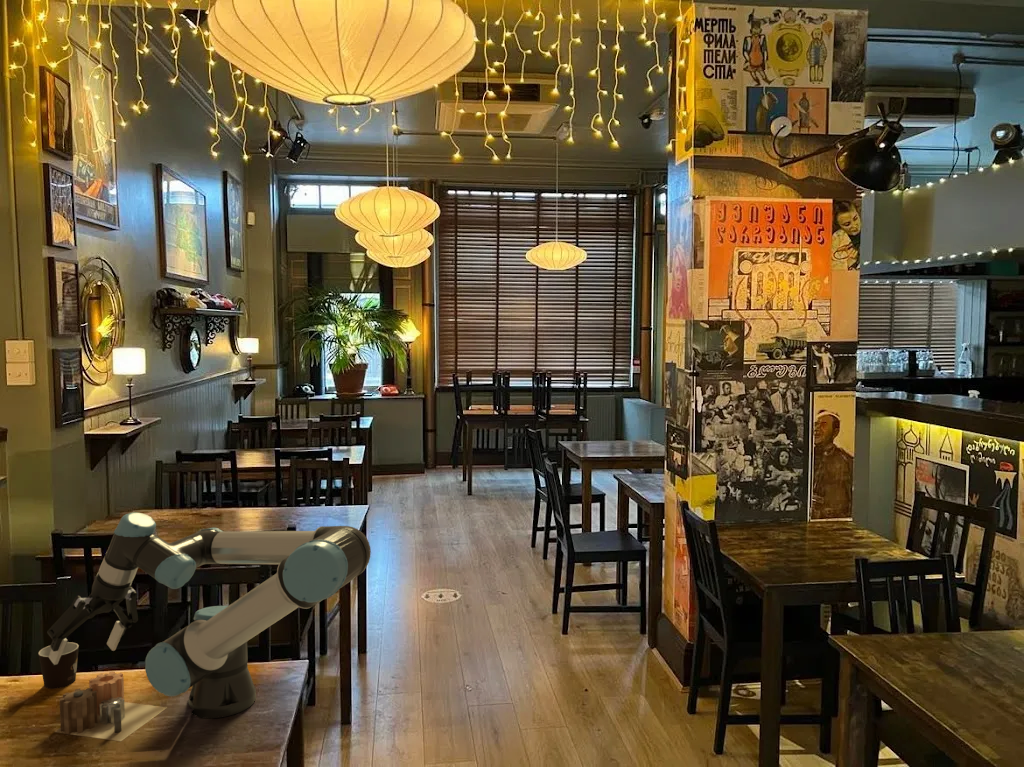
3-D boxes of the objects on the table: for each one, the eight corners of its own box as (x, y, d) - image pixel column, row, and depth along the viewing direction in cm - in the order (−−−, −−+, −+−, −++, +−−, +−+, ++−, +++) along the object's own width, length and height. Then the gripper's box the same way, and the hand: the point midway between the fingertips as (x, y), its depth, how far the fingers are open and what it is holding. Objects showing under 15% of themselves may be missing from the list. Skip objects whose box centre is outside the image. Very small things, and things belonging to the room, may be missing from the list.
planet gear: (129, 699, 180) (128, 671, 180) (117, 714, 173) (116, 684, 173) (97, 701, 179) (96, 672, 179) (84, 716, 172) (83, 686, 172)
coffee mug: (61, 698, 184) (60, 658, 183) (31, 694, 186) (29, 655, 185) (96, 676, 195) (95, 639, 195) (68, 673, 197) (66, 636, 196)
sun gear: (129, 715, 173) (129, 698, 173) (113, 725, 168) (113, 708, 168) (111, 712, 174) (110, 695, 174) (95, 723, 169) (94, 706, 169)
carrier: (167, 713, 177) (166, 686, 176) (121, 747, 162) (120, 718, 162) (105, 705, 180) (104, 679, 180) (54, 738, 166) (53, 709, 165)
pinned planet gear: (104, 719, 171) (103, 687, 170) (80, 736, 164) (79, 702, 163) (78, 716, 172) (77, 683, 172) (52, 732, 165) (51, 698, 165)
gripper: (156, 560, 183) (125, 632, 187) (51, 574, 162) (18, 655, 165) (172, 578, 180) (140, 651, 184) (68, 595, 158) (34, 678, 162)
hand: (82, 653), depth 174 cm, fingers open, 13 cm apart
